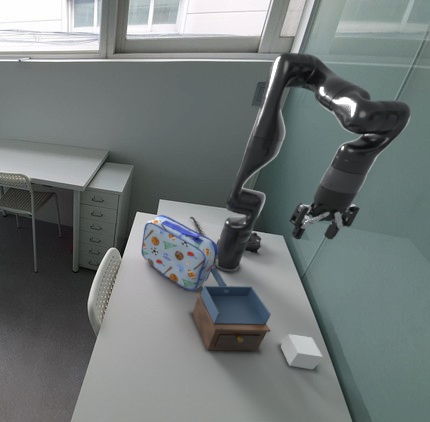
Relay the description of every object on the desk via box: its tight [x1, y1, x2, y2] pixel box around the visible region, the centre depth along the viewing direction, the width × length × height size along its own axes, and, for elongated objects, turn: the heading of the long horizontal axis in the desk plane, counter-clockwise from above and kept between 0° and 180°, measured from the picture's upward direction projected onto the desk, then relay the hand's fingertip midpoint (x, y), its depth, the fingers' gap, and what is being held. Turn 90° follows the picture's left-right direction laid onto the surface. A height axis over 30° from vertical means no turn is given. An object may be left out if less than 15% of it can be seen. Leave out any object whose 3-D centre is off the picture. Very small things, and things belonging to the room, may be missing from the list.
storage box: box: [191, 292, 271, 352], centre depth 92 cm, size 15×15×10 cm
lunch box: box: [141, 214, 218, 291], centre depth 112 cm, size 28×10×22 cm, turn 37°
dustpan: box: [200, 266, 272, 325], centre depth 93 cm, size 20×14×4 cm
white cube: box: [280, 333, 324, 370], centre depth 86 cm, size 6×6×6 cm
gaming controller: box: [244, 231, 262, 254], centre depth 130 cm, size 14×6×10 cm
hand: (311, 237), depth 83 cm, fingers open, 8 cm apart
